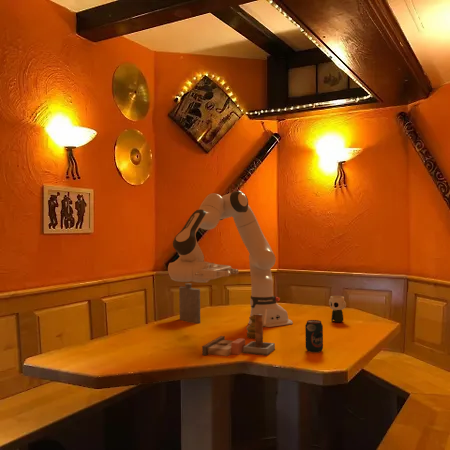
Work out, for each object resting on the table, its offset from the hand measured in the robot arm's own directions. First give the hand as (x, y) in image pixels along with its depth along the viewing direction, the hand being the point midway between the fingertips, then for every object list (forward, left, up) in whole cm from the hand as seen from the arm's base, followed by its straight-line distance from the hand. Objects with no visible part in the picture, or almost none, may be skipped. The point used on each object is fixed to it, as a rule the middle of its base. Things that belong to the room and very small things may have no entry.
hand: (233, 272), depth 208 cm
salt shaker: (-15, -17, -32) cm, 39 cm away
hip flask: (+5, -62, -32) cm, 70 cm away
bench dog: (0, +5, -32) cm, 32 cm away
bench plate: (+5, +1, -32) cm, 32 cm away
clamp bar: (+8, -2, -32) cm, 33 cm away
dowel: (-8, +7, -31) cm, 33 cm away
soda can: (-29, +14, -32) cm, 45 cm away
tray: (-8, +7, -32) cm, 33 cm away
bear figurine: (-67, -34, -32) cm, 82 cm away
